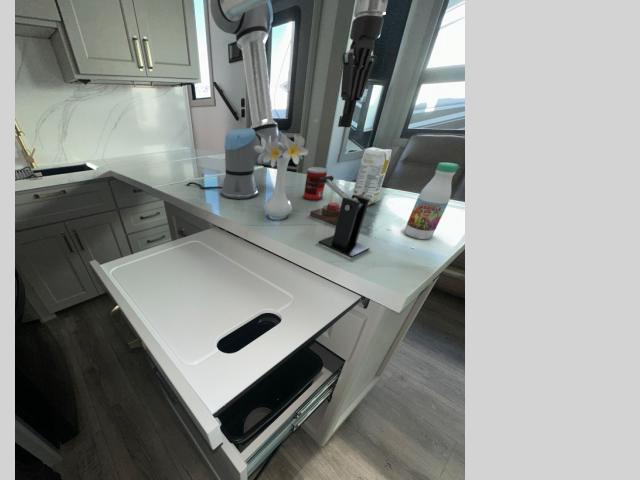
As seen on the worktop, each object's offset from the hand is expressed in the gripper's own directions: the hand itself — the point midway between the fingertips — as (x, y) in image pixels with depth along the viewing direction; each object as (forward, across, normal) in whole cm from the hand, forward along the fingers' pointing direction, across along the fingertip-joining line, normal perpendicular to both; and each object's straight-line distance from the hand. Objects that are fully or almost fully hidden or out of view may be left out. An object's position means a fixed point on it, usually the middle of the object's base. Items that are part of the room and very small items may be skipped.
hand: (345, 126), depth 82 cm
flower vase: (+27, -20, +7) cm, 34 cm away
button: (+23, -6, -6) cm, 24 cm away
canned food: (+27, +8, +14) cm, 31 cm away
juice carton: (+27, +20, -2) cm, 33 cm away
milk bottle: (+27, +6, -30) cm, 41 cm away
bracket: (+26, -21, -22) cm, 40 cm away
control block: (+26, -6, -6) cm, 28 cm away
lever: (+14, -21, -17) cm, 30 cm away
